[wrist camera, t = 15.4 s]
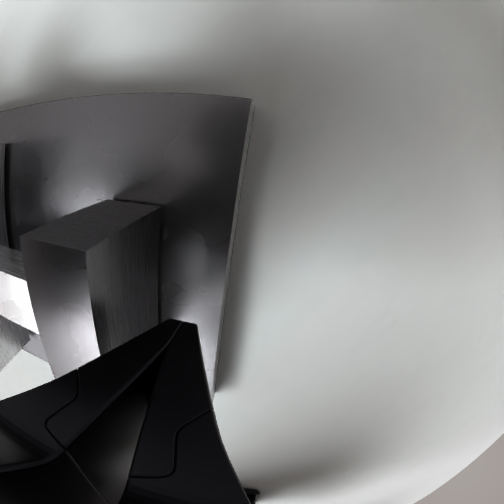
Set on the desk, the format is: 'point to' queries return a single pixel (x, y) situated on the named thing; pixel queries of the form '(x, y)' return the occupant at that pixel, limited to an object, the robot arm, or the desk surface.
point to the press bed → (139, 185)
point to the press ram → (79, 282)
